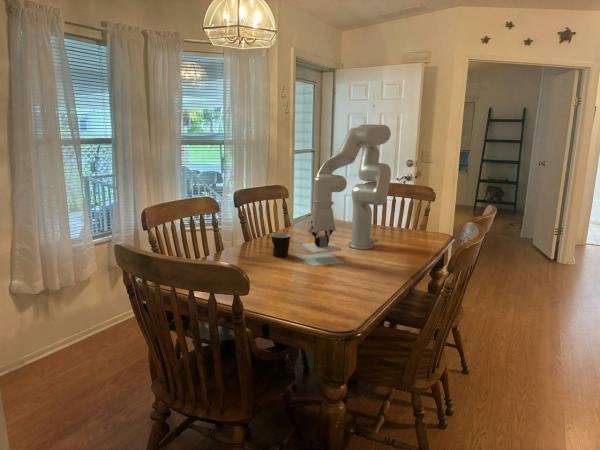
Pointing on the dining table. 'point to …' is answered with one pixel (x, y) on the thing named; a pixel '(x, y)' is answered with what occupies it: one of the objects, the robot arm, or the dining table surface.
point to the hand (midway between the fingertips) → (321, 245)
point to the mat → (320, 259)
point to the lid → (321, 246)
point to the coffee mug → (280, 244)
